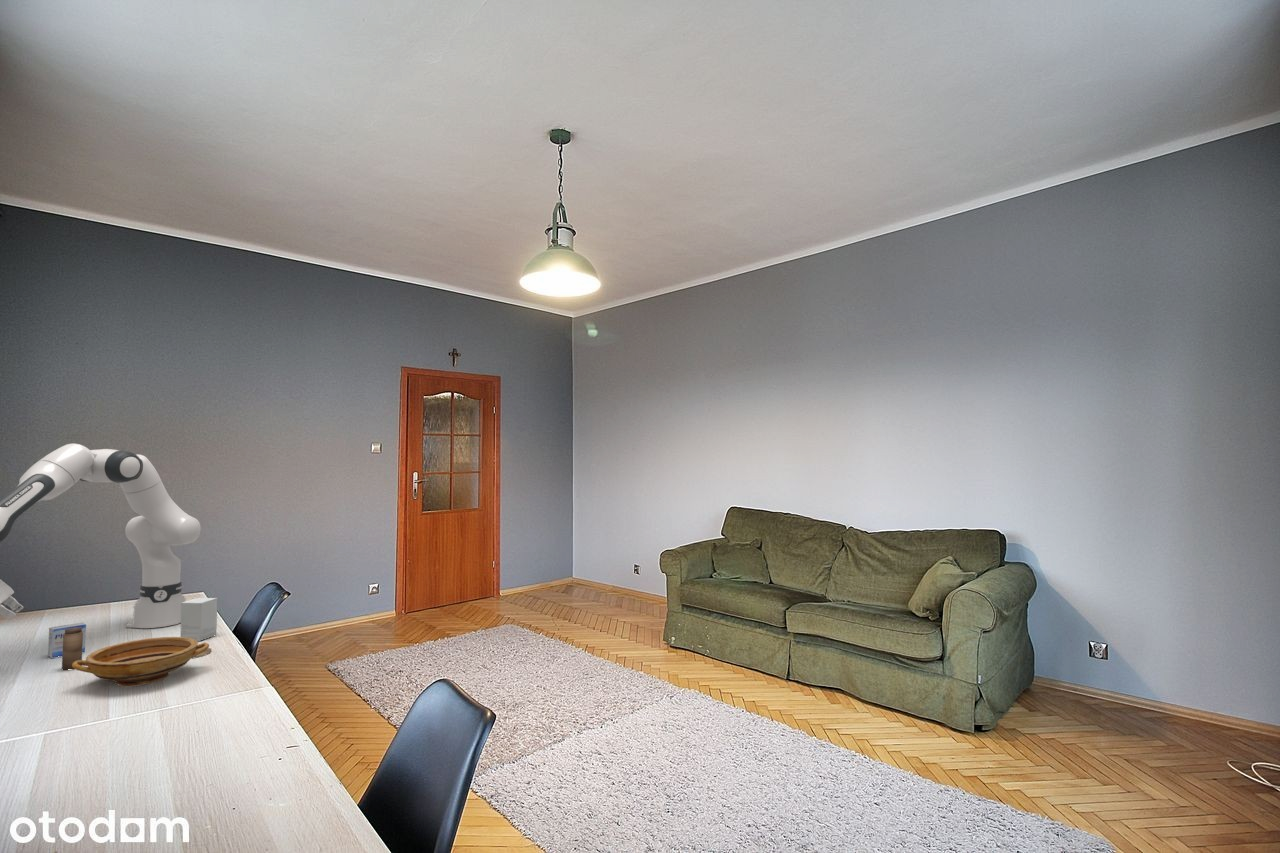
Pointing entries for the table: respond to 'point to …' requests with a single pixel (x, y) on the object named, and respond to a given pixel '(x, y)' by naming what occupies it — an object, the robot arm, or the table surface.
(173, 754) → the table surface
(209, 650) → the cork coaster
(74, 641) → the pepper mill
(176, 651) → the ceramic bowl
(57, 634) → the medicine box
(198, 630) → the supplement box
